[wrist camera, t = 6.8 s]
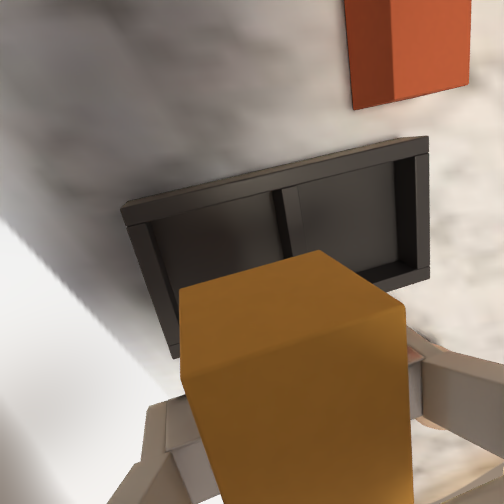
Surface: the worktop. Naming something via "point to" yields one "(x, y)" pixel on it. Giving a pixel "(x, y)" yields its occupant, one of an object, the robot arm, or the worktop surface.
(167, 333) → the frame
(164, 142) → the worktop surface
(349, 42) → the orange-red rectangular block
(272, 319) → the yellow-orange rectangular block
